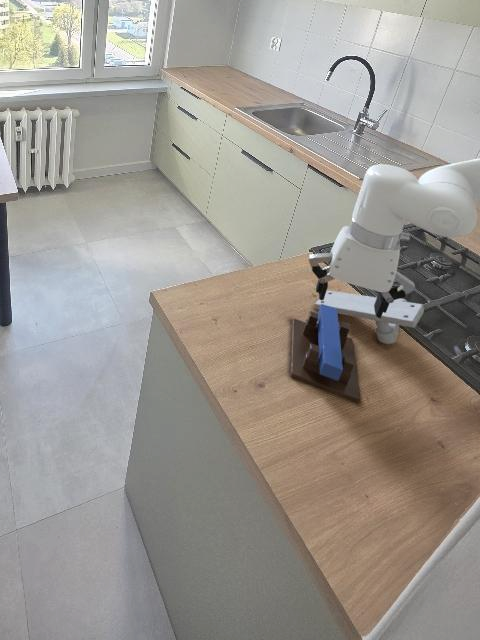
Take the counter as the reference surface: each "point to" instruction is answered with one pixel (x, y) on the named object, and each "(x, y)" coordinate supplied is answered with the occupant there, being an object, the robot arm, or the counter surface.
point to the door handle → (364, 308)
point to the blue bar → (329, 343)
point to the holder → (308, 358)
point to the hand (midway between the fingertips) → (348, 303)
